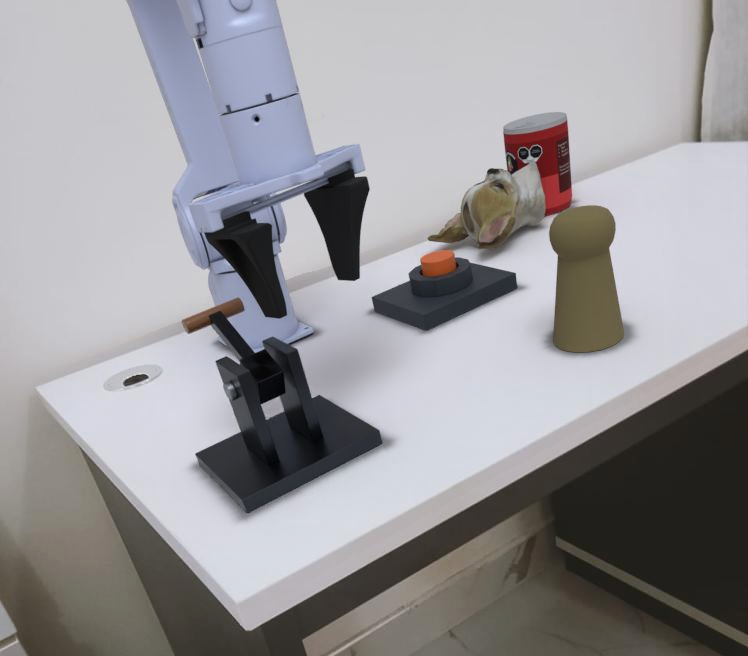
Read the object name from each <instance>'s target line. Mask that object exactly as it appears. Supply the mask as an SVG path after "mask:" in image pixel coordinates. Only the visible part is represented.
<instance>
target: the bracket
mask: <svg viewBox="0 0 748 656" xmlns="http://www.w3.org/2000/svg"><path fill="white" fill-rule="evenodd" d="M262 343H263V346H264V349H266V351H267V352H268V353H269V354H270V355H271V357H272V358H273V359H274V360H275V361H276V363H277V364H278V365H279V366H280V367H281V369H282V370H283V371H284V380H285V390H286V393H285V394H283V395H281V396H279V398H280V399H279V400H280V401H281V404H282V408H283V411H282V412H279V413H277V414H275V415H273V416H271V417H269V418H266V415H265V412H264V409H263V406H262V404H261V403H260V400H259V397H258V394H257V391H256V389H255V386H254V383H253V380H252V377H251V374H250V371H249V370H248V369H246V368H245V367H243V366H241V365H240V363H238V362H237V361H236V360H235V359H234V360H233V359H232V358H230V357H229V356H227V355H226V356H224V357H220V358H218V359H216V360H215V361H214V362H215V364H216V368H217V370H218V373H219V376H220V379H221V381H222V389H223V391H224V393H225V395H226V398H228V400H229V403H230V406H231V409H232V411H233V414H234V418H235V420H236V422H237V425H238V428H239V431H240V432H237V433H235V434H232V435H231V436H229V437H226V438H225V439H222V440H220V441H218V442H216V443H214V444H212V445H210V446H207V447H205V448H203V449H201V450H199V451H197V452H195V454H194V455H195V458H196V460H197V462H198V464H199V466H200V468H202V470H203V471H205V472H206V473H207V474H208V476H210V477H211V478H212V480H214V481H215V483H217V484H218V485H219V486H220V487H221V488H222V489H223V491H224V492H226V494H228V496H229V497H231V498H232V500H234V502H236V504H237V505H239V507H241V509H243V511H244V512H246V513H248V514H249V513H250V512H252V511H254V510H255V509H258V508H260V507H262V506H264V505H266V504H267V503H270V502H271V501H274V500H276V499H277V498H280V497H281V496H283V495H285V494H287V493H289V492H292V491H293V490H295V489H297V488H298V487H300V486H302V485H305V484H307V483H308V482H310V481H312V480H315V479H317V478H318V477H320V476H322V475H324V474H326V473H327V472H329V471H331V470H334V469H335V468H337V467H339V466H342V465H344V464H345V463H347V462H349V461H351V460H352V459H355V458H357V457H359V456H361V455H362V454H364V453H367V452H368V451H370V450H372V449H374V448H376V447H378V446H380V445H382V444H383V439H382V436H381V431H380V429H378V428H376V427H375V426H373V425H371V424H370V423H368V422H366V421H365V420H363V419H362V418H359V417H358V416H357V415H354V414H353V413H351V412H349V411H347V410H346V409H344V408H343V407H341V406H340V405H337V404H335V403H334V402H333V401H331V400H329V399H328V398H326V397H324V396H322V395H321V394H318V395H315V396H314V397H312V393H311V391H310V390H311V389H310V386H309V383H308V380H307V376H306V372H305V369H304V366H303V362H302V359H301V355H300V352H299V349H298V348H296V347H295V346H292V345H291V344H290V343H289V344H287V343H285V342H283V341H281V340H279V339H277V338H275V337H273V336H272V337H270V338H268V339H265V340H263V341H262Z"/></svg>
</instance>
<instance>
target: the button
mask: <svg viewBox="0 0 748 656" xmlns="http://www.w3.org/2000/svg"><path fill="white" fill-rule="evenodd" d="M455 257H456V256H455V252H454V250H451V249H442V250H434V251H432V252H429V253H426V254H424V255H423V256H421V257H420V258H419V261H420V265H421V268H422V273H423V276H439V275H443V274H447V273H449V272H452V271H454V270H456V269H457V268H456V262H455Z"/></svg>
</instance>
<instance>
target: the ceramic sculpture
mask: <svg viewBox="0 0 748 656" xmlns="http://www.w3.org/2000/svg"><path fill="white" fill-rule="evenodd" d="M545 208H546V207H545V195H544V192H543V188H542V184H541V180H540V173H539V171H538V168H537V165H536V163H535V162H534V161H532V162H530V163H529V164H528V165H527V166H525V167H523V168H522V169H520V170H518V171H516V172H515V173H514V174H513V175H512V176H511V174H510V172H508V171H507V169H504V168H493V167H492V168H491V167H490V168H488V169H487V171H486V174H485V178H484V180H483V181H480V182H477V183H476V184H474V185H473V186H470V187H469V188H468V189H467V190H466V191H465V193H464V195H463V197H462V199H461V205H460V212H458V213H456V214H454V217H452V218H451V219H449V220H448V221H447V222H446V224H444V227H443V228H442V229H440V231H439V232H438V234H431V235H429V236H428V237H427V241H429V242H432V243H433V242H434V243H444V244H453V243H458V242H462V241H464V240H466V239H467V238H471V239H473V240H474V241H476V243H477V244H476V246H475V247H476V248H477V249H484V250H493V249H495V248H499V247H500V246H502V245H503V244H505V242H506V241H507V239H508V238H509V237H510V236H511V235H512V234H513V233H514V232H516V231H517V230H519V228H521V227H522V228H529V227H536V226H538V225H539V224H541V222H542V221H543V219H544V217H545V216H544V214H545Z"/></svg>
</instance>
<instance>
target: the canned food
mask: <svg viewBox="0 0 748 656" xmlns="http://www.w3.org/2000/svg"><path fill="white" fill-rule="evenodd" d="M502 129H503V131H502V133H503V135H502V136H503V145H504V154H505V161H506V171H508V172H510V174H511V176H512V175H513V174H514V173H515V172H516V171H518V170H520V169H522V168H523V167H525V166H527V165H528V164H529V163H530V162H532V161H534V162H535V163H536V165H537V168H538V171H539V173H540V180H541V184H542V188H543V192H544V195H545V207H546V208H545V214H544V217H546V216H550V215H555V214H559V213H561V212H563V211H565V210H567V209H569V207H570V206H571V204H572V201H573V186H572V170H571V169H572V168H571V153H570V137H569V136H570V135H569V124H568V116H567V113H566V112H562V111H553V112H552V111H550V112H543V113H538V114H533V115H528V116H525V117H521V118H518V119H515V120H512V121H510V122H508V123H506V124H504V126H503V128H502Z"/></svg>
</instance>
